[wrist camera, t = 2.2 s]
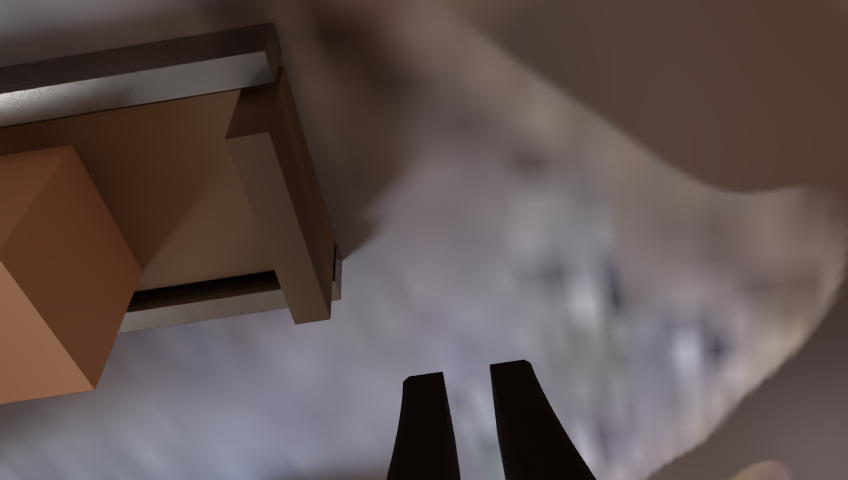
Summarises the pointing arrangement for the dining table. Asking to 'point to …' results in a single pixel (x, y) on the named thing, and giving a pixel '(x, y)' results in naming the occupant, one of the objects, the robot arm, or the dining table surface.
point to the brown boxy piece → (206, 188)
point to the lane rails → (150, 82)
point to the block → (57, 276)
